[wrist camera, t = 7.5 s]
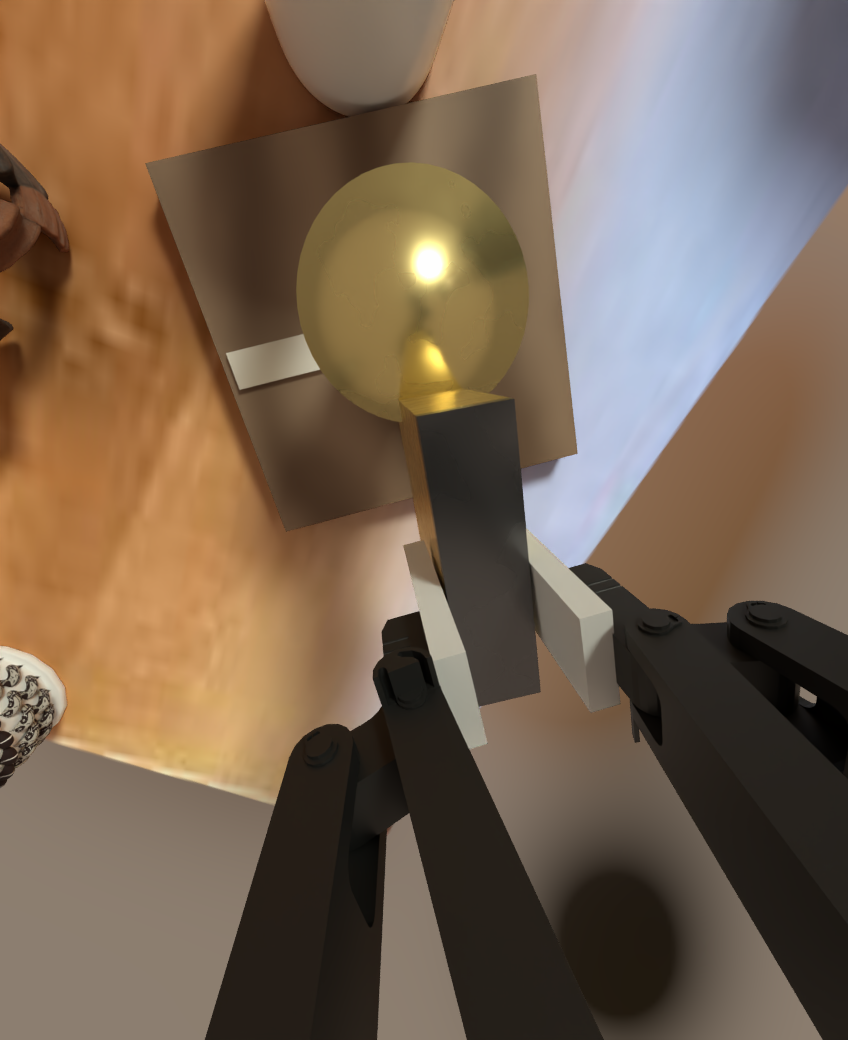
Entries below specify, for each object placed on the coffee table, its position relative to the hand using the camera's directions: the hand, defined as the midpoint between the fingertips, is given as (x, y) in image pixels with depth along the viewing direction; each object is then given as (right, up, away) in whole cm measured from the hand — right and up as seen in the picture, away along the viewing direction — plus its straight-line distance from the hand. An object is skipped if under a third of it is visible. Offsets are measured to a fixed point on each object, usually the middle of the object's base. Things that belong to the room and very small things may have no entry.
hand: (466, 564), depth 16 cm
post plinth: (-3, +13, +11) cm, 18 cm away
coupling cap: (-1, +6, +3) cm, 7 cm away
